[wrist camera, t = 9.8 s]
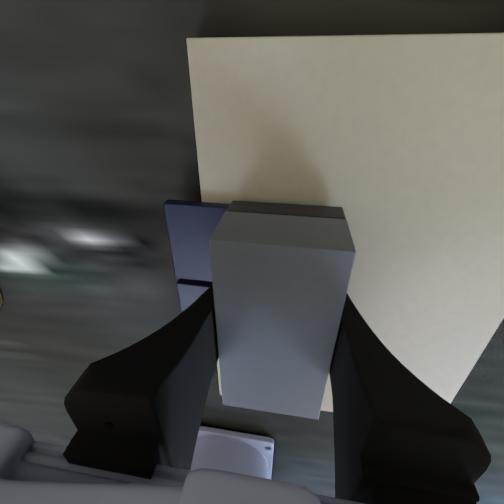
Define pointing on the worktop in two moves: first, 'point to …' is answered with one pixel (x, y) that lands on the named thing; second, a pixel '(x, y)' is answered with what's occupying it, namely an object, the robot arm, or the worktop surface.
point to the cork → (0, 300)
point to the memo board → (374, 171)
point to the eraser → (279, 302)
